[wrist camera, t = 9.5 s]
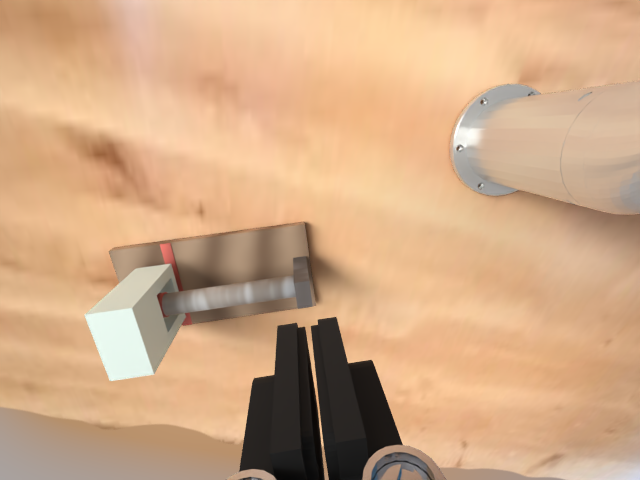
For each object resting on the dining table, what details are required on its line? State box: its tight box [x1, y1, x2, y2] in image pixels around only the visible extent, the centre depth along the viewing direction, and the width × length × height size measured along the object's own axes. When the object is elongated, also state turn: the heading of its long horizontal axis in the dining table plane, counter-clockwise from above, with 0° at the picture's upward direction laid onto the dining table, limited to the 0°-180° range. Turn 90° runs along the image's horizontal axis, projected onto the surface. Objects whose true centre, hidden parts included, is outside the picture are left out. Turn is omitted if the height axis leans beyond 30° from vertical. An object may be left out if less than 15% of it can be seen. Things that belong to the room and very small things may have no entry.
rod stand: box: [109, 222, 316, 326], centre depth 39 cm, size 23×11×8 cm, turn 97°
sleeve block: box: [85, 264, 186, 381], centre depth 35 cm, size 4×7×10 cm, turn 7°
